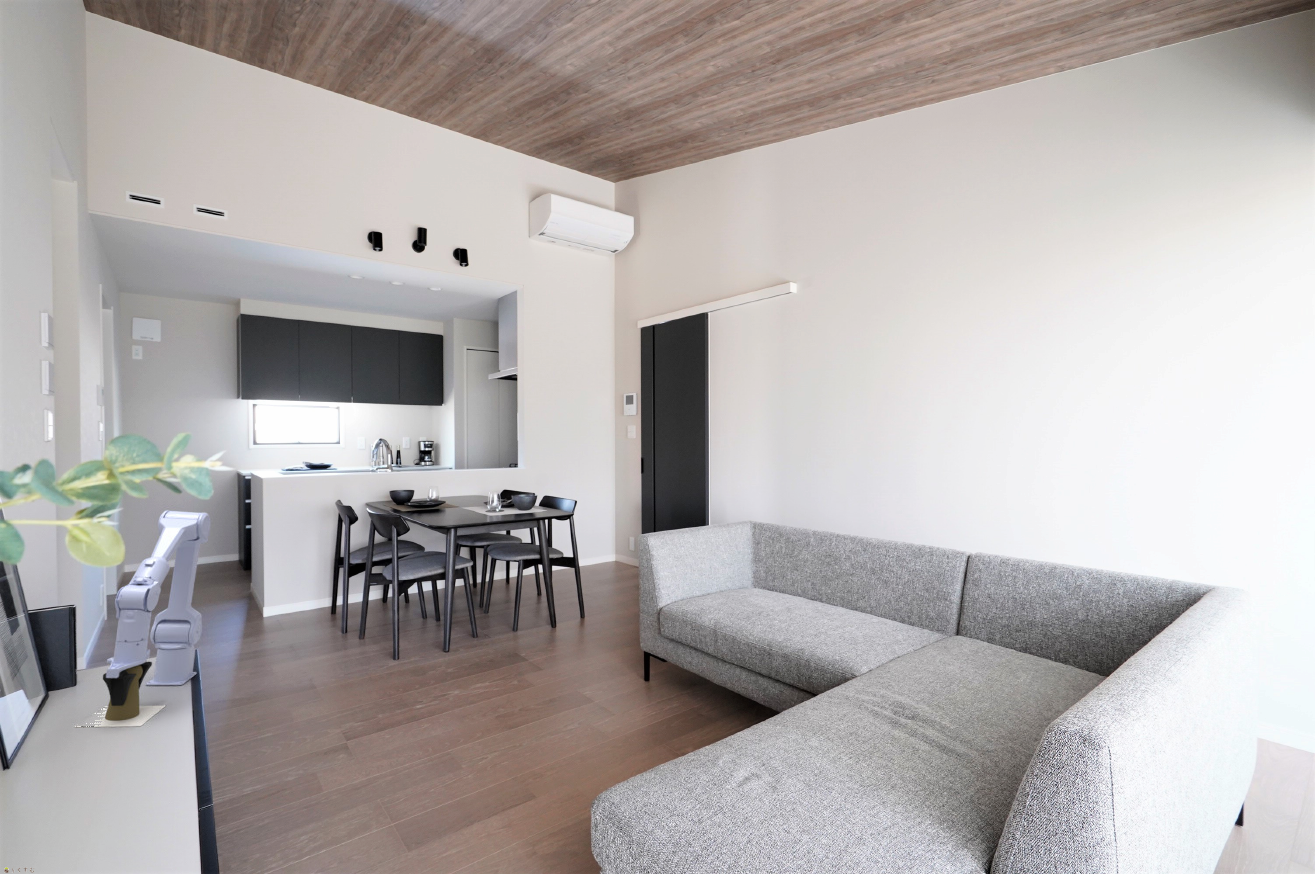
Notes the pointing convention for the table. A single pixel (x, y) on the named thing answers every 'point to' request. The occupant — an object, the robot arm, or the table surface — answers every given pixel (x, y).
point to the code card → (139, 720)
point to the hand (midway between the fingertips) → (124, 700)
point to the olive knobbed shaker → (127, 700)
